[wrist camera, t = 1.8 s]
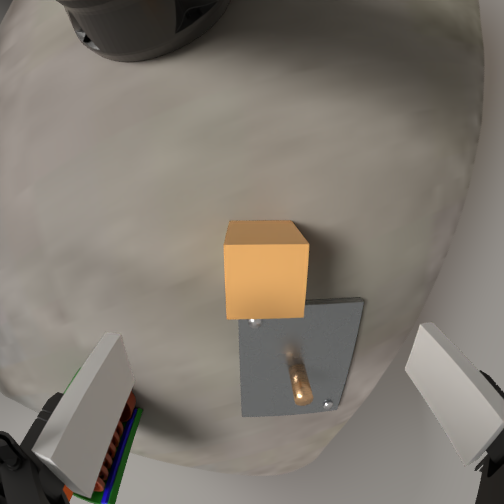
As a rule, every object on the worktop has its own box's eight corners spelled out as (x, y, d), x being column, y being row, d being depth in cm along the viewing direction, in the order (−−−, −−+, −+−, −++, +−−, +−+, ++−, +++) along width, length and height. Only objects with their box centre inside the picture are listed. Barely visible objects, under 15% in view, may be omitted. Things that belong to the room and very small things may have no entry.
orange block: (229, 220, 24) (223, 244, 17) (291, 220, 24) (309, 244, 17) (231, 278, 25) (226, 319, 19) (288, 277, 25) (303, 317, 19)
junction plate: (238, 301, 26) (237, 335, 21) (360, 297, 26) (382, 326, 21) (241, 411, 31) (242, 445, 26) (335, 404, 31) (345, 435, 26)
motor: (153, 400, 30) (115, 536, 11) (128, 424, 32) (94, 534, 13) (85, 355, 28) (12, 480, 9) (70, 386, 30) (14, 490, 11)
